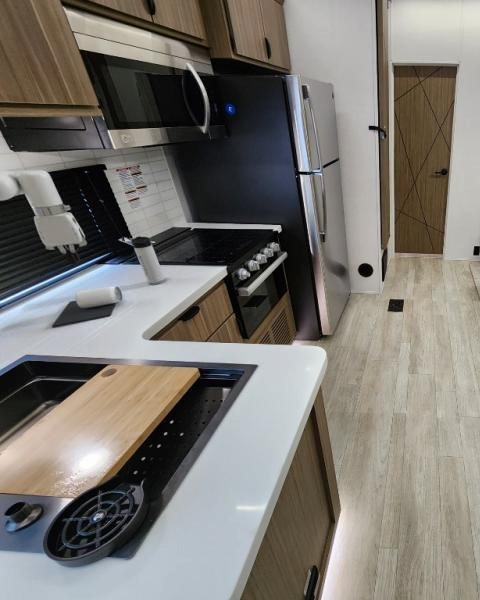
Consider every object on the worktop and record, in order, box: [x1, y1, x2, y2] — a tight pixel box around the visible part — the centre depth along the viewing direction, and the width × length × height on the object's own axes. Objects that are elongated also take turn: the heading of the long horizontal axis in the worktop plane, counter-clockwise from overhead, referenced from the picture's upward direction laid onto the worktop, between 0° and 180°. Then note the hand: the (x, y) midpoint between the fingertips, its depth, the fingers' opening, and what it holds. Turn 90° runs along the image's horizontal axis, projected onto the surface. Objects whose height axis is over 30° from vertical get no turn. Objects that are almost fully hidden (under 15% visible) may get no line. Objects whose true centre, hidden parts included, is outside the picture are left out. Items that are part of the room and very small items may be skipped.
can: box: [74, 286, 123, 308], centre depth 125 cm, size 6×6×12 cm
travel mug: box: [130, 235, 166, 286], centre depth 141 cm, size 6×7×20 cm
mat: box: [51, 300, 117, 329], centre depth 124 cm, size 16×20×1 cm
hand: (75, 262), depth 117 cm, fingers closed
